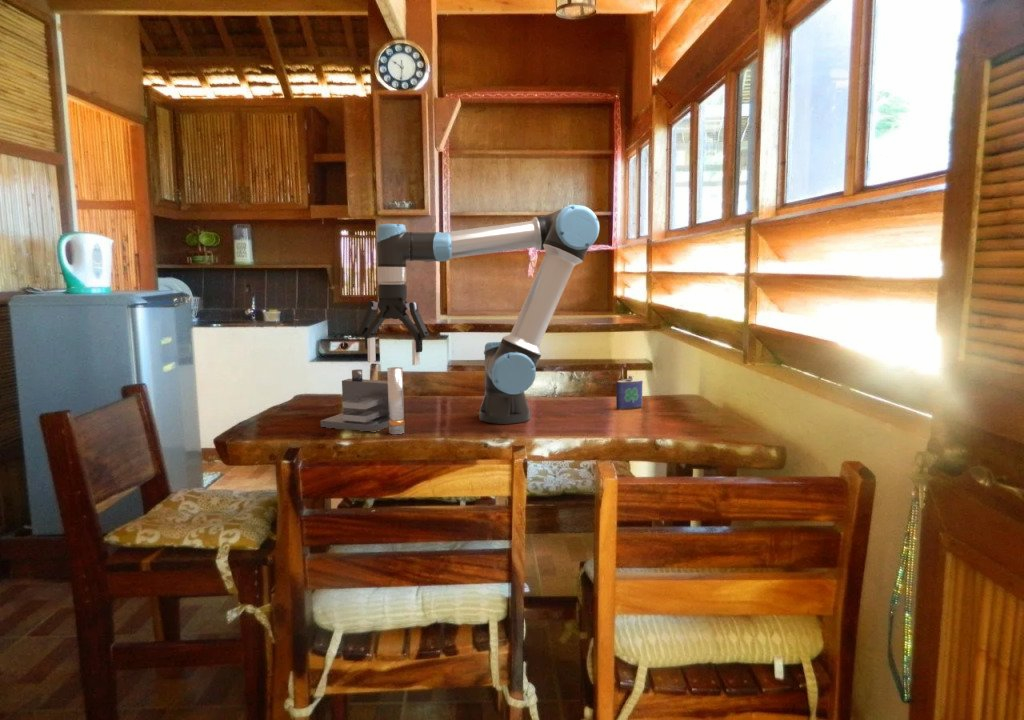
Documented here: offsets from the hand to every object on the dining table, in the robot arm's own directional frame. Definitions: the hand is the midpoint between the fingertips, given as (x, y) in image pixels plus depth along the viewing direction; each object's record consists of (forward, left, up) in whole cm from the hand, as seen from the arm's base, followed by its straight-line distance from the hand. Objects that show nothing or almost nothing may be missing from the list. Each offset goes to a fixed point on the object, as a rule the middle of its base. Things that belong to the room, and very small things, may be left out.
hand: (393, 363), depth 183 cm
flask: (-53, -54, -20) cm, 78 cm away
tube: (0, 0, -19) cm, 19 cm away
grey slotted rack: (+15, -6, -19) cm, 25 cm away
